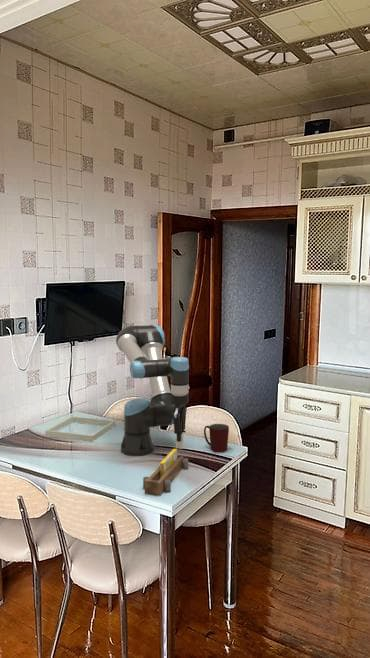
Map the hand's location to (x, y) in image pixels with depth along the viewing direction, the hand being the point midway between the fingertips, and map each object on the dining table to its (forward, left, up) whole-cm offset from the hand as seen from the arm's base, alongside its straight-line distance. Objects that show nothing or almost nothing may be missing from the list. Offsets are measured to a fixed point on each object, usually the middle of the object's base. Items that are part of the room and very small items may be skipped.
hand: (179, 447), depth 212 cm
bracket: (0, -19, -7) cm, 20 cm away
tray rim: (-61, +25, -7) cm, 66 cm away
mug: (+11, +20, -7) cm, 24 cm away
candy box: (0, -14, -7) cm, 15 cm away
